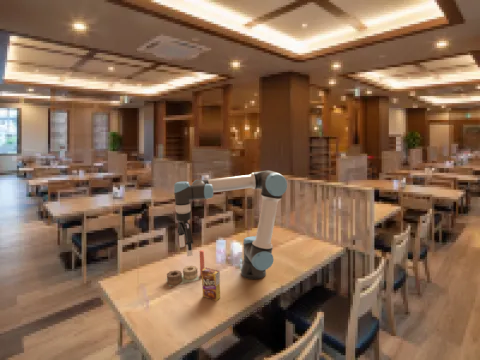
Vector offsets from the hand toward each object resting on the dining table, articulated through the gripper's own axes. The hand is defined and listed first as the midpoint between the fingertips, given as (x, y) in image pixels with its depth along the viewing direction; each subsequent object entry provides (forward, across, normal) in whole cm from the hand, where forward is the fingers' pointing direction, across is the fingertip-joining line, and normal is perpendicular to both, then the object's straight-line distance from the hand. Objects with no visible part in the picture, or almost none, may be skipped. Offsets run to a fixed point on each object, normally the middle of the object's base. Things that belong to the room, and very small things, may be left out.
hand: (186, 251), depth 154 cm
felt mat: (+25, -18, +2) cm, 31 cm away
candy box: (+25, +8, +10) cm, 28 cm away
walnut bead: (+24, -17, -3) cm, 30 cm away
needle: (+25, -16, +14) cm, 33 cm away
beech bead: (+24, -19, +7) cm, 31 cm away
